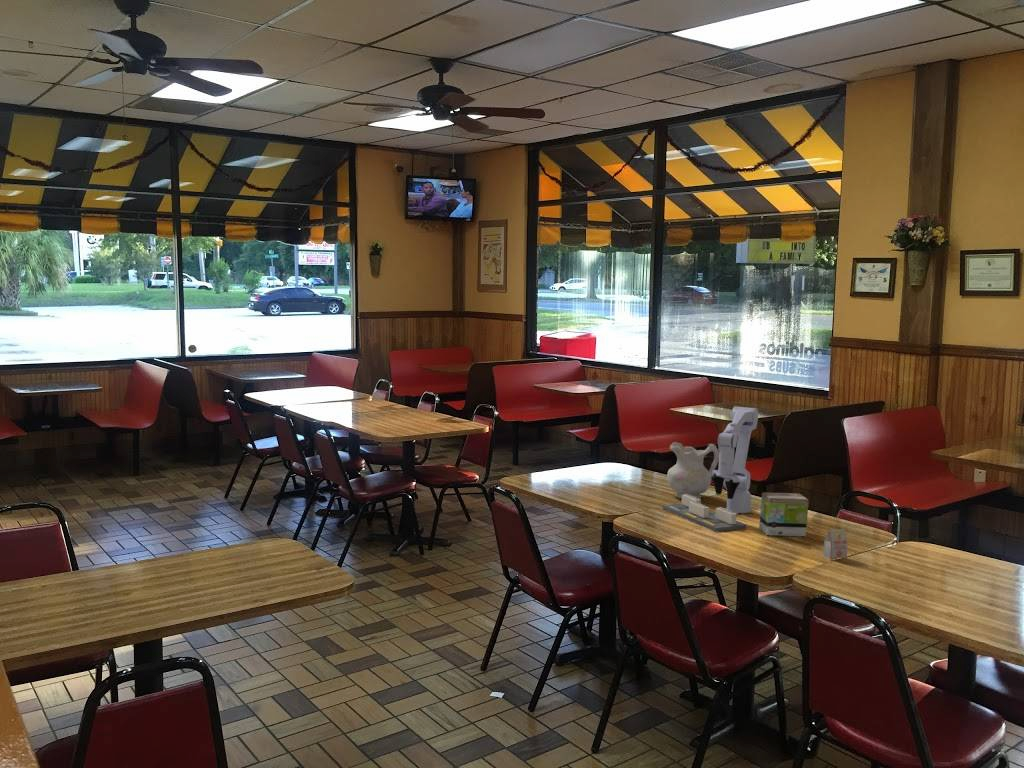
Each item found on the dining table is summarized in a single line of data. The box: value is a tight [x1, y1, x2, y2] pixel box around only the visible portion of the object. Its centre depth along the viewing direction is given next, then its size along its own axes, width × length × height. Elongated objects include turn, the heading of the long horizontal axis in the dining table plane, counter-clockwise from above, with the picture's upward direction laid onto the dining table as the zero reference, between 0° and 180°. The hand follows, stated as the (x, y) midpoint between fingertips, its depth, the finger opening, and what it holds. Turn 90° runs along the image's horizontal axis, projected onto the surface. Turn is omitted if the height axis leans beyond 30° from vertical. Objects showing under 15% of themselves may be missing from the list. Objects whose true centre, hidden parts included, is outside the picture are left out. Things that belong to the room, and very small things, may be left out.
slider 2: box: [689, 501, 710, 518], centre depth 346 cm, size 2×10×5 cm, turn 24°
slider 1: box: [681, 494, 702, 507], centre depth 358 cm, size 2×10×5 cm, turn 24°
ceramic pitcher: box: [666, 441, 719, 500], centre depth 382 cm, size 22×20×25 cm
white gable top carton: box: [822, 528, 849, 559], centre depth 299 cm, size 4×7×10 cm, turn 107°
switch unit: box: [662, 503, 747, 533], centre depth 347 cm, size 14×36×2 cm, turn 24°
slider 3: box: [714, 506, 738, 524], centre depth 337 cm, size 2×10×5 cm, turn 24°
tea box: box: [758, 492, 809, 537], centre depth 328 cm, size 15×10×15 cm, turn 92°
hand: (724, 496), depth 344 cm, fingers open, 7 cm apart
